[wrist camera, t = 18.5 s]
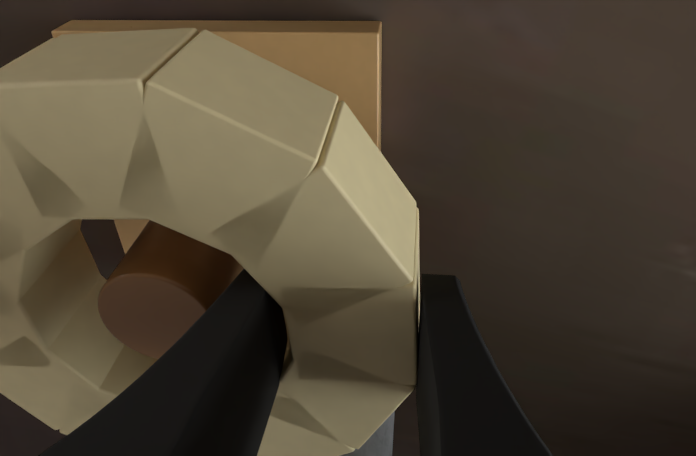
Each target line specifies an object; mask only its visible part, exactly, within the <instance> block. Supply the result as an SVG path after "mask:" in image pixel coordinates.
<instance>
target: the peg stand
mask: <svg viewBox="0 0 696 456" xmlns="http://www.w3.org/2000/svg"><path fill="white" fill-rule="evenodd" d="M177 28H195V29H197V30H198V32H199V33H200V32H201V31H202V30H207V31H209V32H211V33H213V34H215V35H217V36H219V37H221V38H223V39H225V40H227V41H229V42H231V43H233V44H235V45H238V46H240V47H242V48H244V49H246V50H248V51H250V52H252V53H254V54H256V55H258V56H260V57H262V58H264V59H266V60H268V61H270V62H272V63H274V64H276V65H278V66H280V67H282V68H284V69H286V70H288V71H290V72H292V73H294V74H296V75H298V76H300V77H302V78H304V79H306V80H308V81H310V82H312V83H314V84H316V85H318V86H320V87H322V88H324V89H326V90H328V91H330V92H332V93H334V94H336V95H337V96H338V102H340V101H344V102H345V103H346V104H347V106H348V107H349V108H350V110H351V111H352V113H353V114H354V115H355V117H356V118H357V120H358V121H359V122H360V124H361V125H362V127H363V128H364V129H365V131H366V132H367V134H368V135H369V136H370V138H371V139H372V141H373V142H374V143H375V145H376V146H377V148H378V149H379V151H380V152H381V54H382V23H381V21H221V20H71V21H69V22H67V23H65V24H64V25H62V26H60V27H58V28H56V29H54V30H53V31H51V33H52V36H53V38H57V37H58V36H60V35H62V34H79V33H99V32H118V31H138V30H158V29H177ZM338 102H337V103H338ZM114 222H115V225H116V228H117V231H118V234H119V237H120V240H121V243H122V246H123V249H124V252H125V256H124V257H123V258H122V260H121V261H120V263H119V264H118V266H117V267H116V268H115V270H114V271H113V273H112V274H111V275H110V277H109V278H108V280H107V281H106V283H105V284H104V285H103V287H102V288H101V290H100V292H99V296H98V311H99V315H100V317H101V319H102V321H103V323H104V325H105V326H106V328H107V329H108V330H109V331H110V333H111V334H112V335H113V336H114V337H115V338H117V339H118V340H119V341H120V342H121V343H123V344H124V345H126V346H127V347H129V348H131V349H133V350H134V351H137V352H139V353H141V354H144V355H146V356H149V357H153V358H156V359H159V358H160V357H161V356H162V355H163V354H164V353H165V352H166V351H167V350H168V349H170V348H171V347H172V346H173V345H174V344H175V343H176V342H177V341H178V340H179V339H180V338H181V337H182V336H183V335H184V333H185V332H186V331H187V330H188V329H189V328H190V327H191V326H192V325H193V324H194V323H195V322H196V321H197V320H198V319H199V318H200V317H201V316H202V315H203V314H204V313H205V311H206V310H207V309H208V308H209V307H210V306H211V305H212V304H213V303H214V302H215V301H216V299H217V298H218V297H219V296H220V295H221V294H222V293H223V292H224V290H225V289H226V288H227V287H228V286H229V285H230V284H231V283H232V281H233V280H234V279H235V278H236V277H237V276H238V275H239V274H240V272H241V271H242V270H243V269H244V268H243V267H242V266H241V265H240V264H239V263H238V262H237V261H236V259H235V258H234V257H233V256H232V255H231V254H228V253H226V252H224V251H221V250H219V249H217V248H214V247H212V246H210V245H207V244H205V243H203V242H200V241H198V240H196V239H193V238H191V237H189V236H186V235H184V234H182V233H179V232H177V231H175V230H172V229H170V228H168V227H165V226H163V225H161V224H158V223H156V222H154V221H151V220H140V219H114Z"/></svg>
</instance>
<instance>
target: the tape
mask: <svg viewBox="0 0 696 456" xmlns="http://www.w3.org/2000/svg"><path fill="white" fill-rule="evenodd" d="M337 102H338V96H337V95H336V94H334V93H332V92H330V91H328V90H326V89H324V88H322V87H320V86H318V85H316V84H314V83H312V82H310V81H308V80H306V79H304V78H302V77H300V76H298V75H296V74H294V73H292V72H290V71H288V70H286V69H284V68H282V67H280V66H278V65H276V64H274V63H272V62H270V61H268V60H266V59H264V58H262V57H260V56H258V55H256V54H254V53H252V52H250V51H248V50H246V49H244V48H242V47H240V46H238V45H235V44H233V43H231V42H229V41H227V40H225V39H223V38H221V37H219V36H217V35H215V34H213V33H211V32H209V31H207V30H202V31H201V32H200V33H199V32H198V30H197V29H195V28H177V29H158V30H138V31H118V32H99V33H79V34H62V35H60V36H58V37H57V38H51V39H50V40H48V41H46V42H44V43H43V44H41V45H39V46H38V47H36V48H34V49H32V50H31V51H29V52H27V53H26V54H24V55H22V56H20V57H19V58H17V59H15V60H13V61H12V62H10V63H8V64H7V65H5V66H3V67H1V68H0V393H1V394H3V395H4V396H5V397H7V398H8V399H10V400H11V401H13V402H14V403H16V404H17V405H19V406H20V407H22V408H23V409H24V410H26V411H27V412H29V413H30V414H32V415H33V416H35V417H36V418H38V419H39V420H41V421H42V422H43V423H45V424H46V425H48V426H49V427H51V428H52V429H54V430H58V429H60V431H59V432H60V433H62V434H65V435H68V434H70V433H71V432H72V431H74V430H75V429H76V428H78V427H79V426H80V425H82V424H83V423H84V422H86V421H87V420H88V419H90V418H91V417H92V416H93V415H95V414H96V413H97V412H98V411H100V410H101V409H102V408H103V407H105V406H106V405H107V404H108V403H110V402H111V401H112V400H113V399H114V398H116V397H117V396H118V395H119V394H120V393H122V392H123V391H124V390H125V389H126V388H127V387H129V386H130V385H131V384H132V383H133V382H134V381H135V380H136V379H138V378H139V377H140V376H141V375H142V374H143V373H144V372H145V371H146V370H147V369H148V368H149V367H151V366H152V365H153V364H154V363H155V362H156V361H157V360H158V359H156V358H153V357H149V356H146V355H144V354H141V353H139V352H137V351H134V350H133V349H131V348H129V347H127V346H126V345H124V344H123V343H121V342H120V341H119V340H118V339H117V338H115V337H114V336H113V335H112V334H111V333H110V331H109V330H108V329H107V328H106V326H105V325H104V323H103V321H102V319H101V317H100V315H99V311H98V296H99V292H100V290H101V288H102V287H103V285H104V284H105V283H106V281H107V280H106V279H105V278H104V277H103V276H102V275H101V274H100V272H99V270H98V268H97V266H96V263H95V261H94V259H93V257H92V255H91V252H90V250H89V248H88V246H87V244H86V241H85V239H84V237H83V235H82V232H81V230H80V227H81V222H82V219H140V220H151V221H154V222H156V223H158V224H161V225H163V226H165V227H168V228H170V229H172V230H175V231H177V232H179V233H182V234H184V235H186V236H189V237H191V238H193V239H196V240H198V241H200V242H203V243H205V244H207V245H210V246H212V247H214V248H217V249H219V250H221V251H224V252H226V253H228V254H231V255H232V256H233V257H234V258H235V259H236V261H237V262H238V263H239V264H240V265H241V266H242V267H243V268H244V269H245V270H246V271H247V272H248V273H249V274H250V275H251V276H252V277H253V278H254V279H255V280H256V281H257V282H258V283H259V284H260V285H261V286H262V287H263V288H264V289H265V291H266V292H267V293H268V294H269V295H270V296H271V297H272V298H273V299H274V300H275V301H276V302H277V303H278V304H279V305H280V306H281V307H282V310H283V314H284V319H285V324H286V330H287V337H288V340H287V346H286V352H285V357H284V363H283V368H282V372H281V375H280V383H279V387H278V390H277V394H276V397H275V400H274V403H273V407H272V410H271V413H270V416H269V419H268V423H267V426H266V429H265V432H264V435H263V438H262V441H261V445H260V448H259V451H258V454H257V456H340V455H344V454H347V453H351V452H353V451H354V450H355V449H359V448H360V447H361V446H362V445H363V444H364V443H365V442H366V441H367V440H368V439H369V438H370V437H371V435H372V434H373V433H374V432H375V431H376V430H377V429H378V428H379V427H380V426H381V425H382V424H383V423H384V421H385V420H386V419H387V418H388V417H389V416H390V415H391V414H392V413H393V412H394V411H395V410H396V409H397V407H398V406H399V405H400V404H401V403H402V402H403V401H404V400H405V399H406V398H407V397H408V396H409V395H410V394H411V392H412V391H413V390H414V389H415V385H416V384H417V375H418V333H419V315H420V262H419V210H418V208H417V207H416V201H415V200H414V198H413V197H412V195H411V194H410V193H409V191H408V190H407V188H406V187H405V186H404V184H403V183H402V181H401V180H400V179H399V177H398V176H397V174H396V173H395V172H394V170H393V169H392V167H391V166H390V165H389V163H388V162H387V160H386V159H385V158H384V156H383V155H382V153H381V152H380V151H379V149H378V148H377V146H376V145H375V143H374V142H373V141H372V139H371V138H370V136H369V135H368V134H367V132H366V131H365V129H364V128H363V127H362V125H361V124H360V122H359V121H358V120H357V118H356V117H355V115H354V114H353V113H352V111H351V110H350V108H349V107H348V106H347V104H346V103H345V102H344V101H340V102H338V103H337Z"/></svg>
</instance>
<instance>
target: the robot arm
mask: <svg viewBox="0 0 696 456" xmlns="http://www.w3.org/2000/svg"><path fill="white" fill-rule="evenodd" d="M287 340H288V337H287V330H286V324H285V319H284V314H283V310H282V307H281V306H280V305H279V304H278V303H277V302H276V301H275V300H274V299H273V298H272V297H271V296H270V295H269V294H268V293H267V292H266V291H265V289H264V288H263V287H262V286H261V285H260V284H259V283H258V282H257V281H256V280H255V279H254V278H253V277H252V276H251V275H250V274H249V273H248V272H247V271H246V270H245V269H243V270H242V271H241V272H240V274H239V275H238V276H237V277H236V278H235V279H234V280H233V281H232V283H231V284H230V285H229V286H228V287H227V288H226V289H225V290H224V292H223V293H222V294H221V295H220V296H219V297H218V298H217V299H216V301H215V302H214V303H213V304H212V305H211V306H210V307H209V308H208V309H207V310H206V311H205V313H204V314H203V315H202V316H201V317H200V318H199V319H198V320H197V321H196V322H195V323H194V324H193V325H192V326H191V327H190V328H189V329H188V330H187V331H186V332H185V333H184V335H183V336H182V337H181V338H180V339H179V340H178V341H177V342H176V343H175V344H174V345H173V346H172V347H171V348H170V349H168V350H167V351H166V352H165V353H164V354H163V355H162V356H161V357H160V358H159V359H158V360H157V361H156V362H155V363H154V364H153V365H152V366H151V367H149V368H148V369H147V370H146V371H145V372H144V373H143V374H142V375H141V376H140V377H139V378H138V379H136V380H135V381H134V382H133V383H132V384H131V385H130V386H129V387H127V388H126V389H125V390H124V391H123V392H122V393H120V394H119V395H118V396H117V397H116V398H114V399H113V400H112V401H111V402H110V403H108V404H107V405H106V406H105V407H103V408H102V409H101V410H100V411H98V412H97V413H96V414H95V415H93V416H92V417H91V418H90V419H88V420H87V421H86V422H84V423H83V424H82V425H80V426H79V427H78V428H76V429H75V430H74V431H72V432H71V433H70V434H68V435H67V436H65V437H64V438H63V439H61V440H60V441H58V442H57V443H56V444H54V445H53V446H51V447H50V448H49V449H47V450H46V451H44V452H43V453H42V454H40V455H39V456H257V454H258V451H259V448H260V445H261V441H262V438H263V435H264V432H265V429H266V426H267V423H268V419H269V416H270V413H271V410H272V407H273V403H274V400H275V397H276V394H277V390H278V387H279V383H280V375H281V372H282V368H283V363H284V357H285V352H286V346H287ZM416 399H417V413H418V427H419V441H420V454H421V456H553V455H552V454H551V452H550V451H549V449H548V448H547V446H546V445H545V444H544V442H543V441H542V439H541V438H540V436H539V435H538V434H537V432H536V431H535V429H534V428H533V426H532V425H531V423H530V421H529V420H528V418H527V417H526V415H525V414H524V412H523V410H522V409H521V407H520V406H519V404H518V402H517V401H516V399H515V397H514V396H513V394H512V392H511V391H510V389H509V387H508V386H507V384H506V382H505V380H504V379H503V377H502V375H501V373H500V371H499V370H498V368H497V366H496V364H495V362H494V360H493V358H492V356H491V354H490V352H489V350H488V348H487V346H486V345H485V343H484V341H483V339H482V336H481V334H480V332H479V330H478V328H477V326H476V323H475V321H474V319H473V316H472V314H471V312H470V309H469V307H468V304H467V302H466V299H465V296H464V293H463V290H462V287H461V283H460V280H459V279H458V278H457V277H456V276H452V275H433V274H422V287H421V302H420V317H419V333H418V375H417V386H416Z"/></svg>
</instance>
